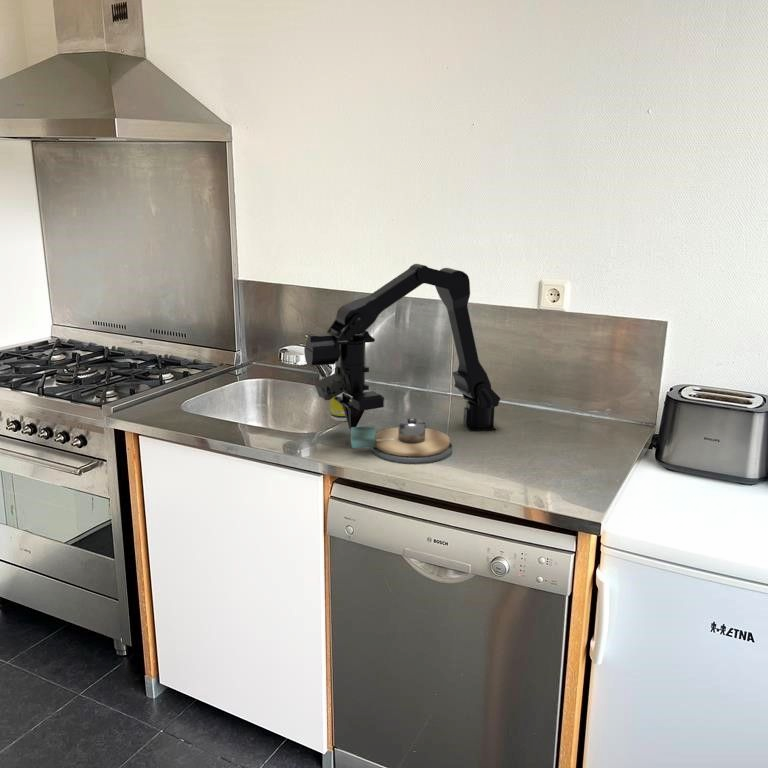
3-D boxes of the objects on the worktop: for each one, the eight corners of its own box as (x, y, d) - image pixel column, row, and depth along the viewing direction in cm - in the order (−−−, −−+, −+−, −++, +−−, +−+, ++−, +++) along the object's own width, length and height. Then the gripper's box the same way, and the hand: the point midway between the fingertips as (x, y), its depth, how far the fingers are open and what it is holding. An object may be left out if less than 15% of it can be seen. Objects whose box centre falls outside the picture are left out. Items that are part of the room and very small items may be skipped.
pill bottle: (351, 422, 189) (352, 379, 186) (327, 420, 190) (327, 377, 187) (357, 415, 195) (358, 373, 192) (334, 413, 196) (334, 371, 193)
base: (439, 434, 181) (440, 429, 181) (461, 461, 164) (461, 456, 164) (365, 438, 178) (365, 433, 177) (379, 466, 161) (379, 460, 160)
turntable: (438, 429, 180) (439, 413, 179) (458, 454, 164) (459, 436, 163) (346, 433, 176) (346, 417, 175) (357, 459, 160) (357, 441, 159)
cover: (421, 434, 173) (422, 414, 172) (427, 442, 168) (428, 422, 166) (395, 435, 172) (396, 415, 171) (401, 444, 167) (401, 423, 165)
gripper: (301, 357, 173) (302, 423, 177) (339, 376, 157) (339, 447, 161) (344, 352, 178) (345, 416, 182) (386, 369, 163) (385, 439, 167)
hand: (352, 429), depth 173 cm, fingers closed
